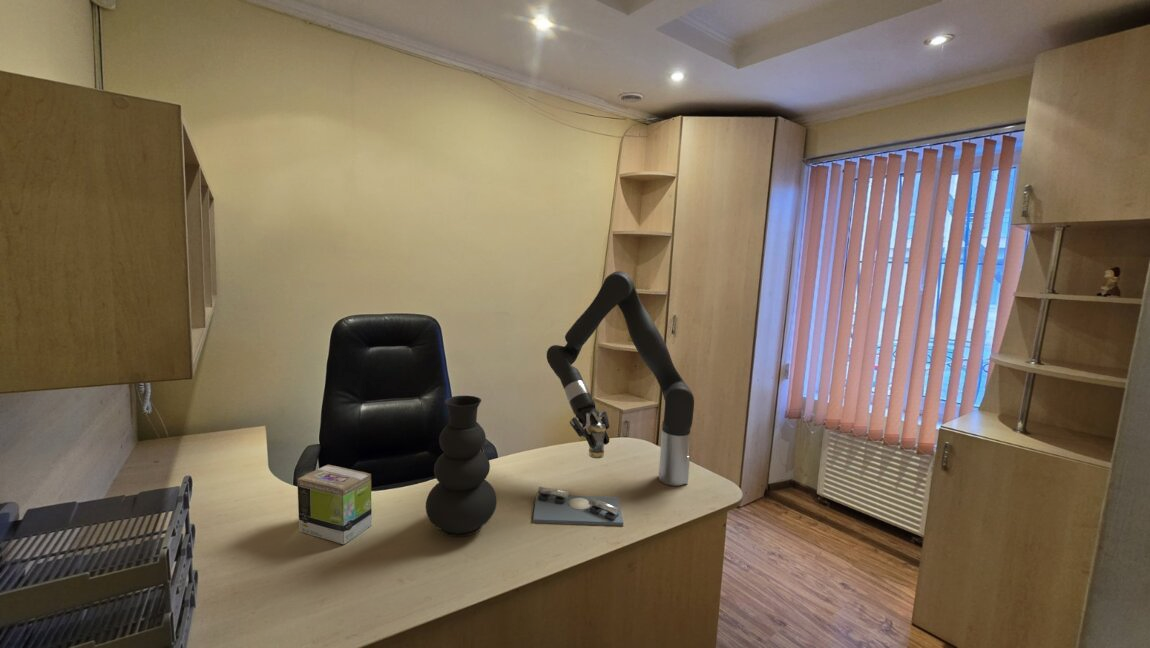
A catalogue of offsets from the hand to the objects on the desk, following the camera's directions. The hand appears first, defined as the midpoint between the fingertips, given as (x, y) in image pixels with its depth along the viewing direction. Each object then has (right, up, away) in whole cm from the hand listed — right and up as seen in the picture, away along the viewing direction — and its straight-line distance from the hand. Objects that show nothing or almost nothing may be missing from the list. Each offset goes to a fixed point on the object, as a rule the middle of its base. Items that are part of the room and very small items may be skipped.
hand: (600, 444), depth 146 cm
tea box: (-70, -16, -23) cm, 76 cm away
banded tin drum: (-1, -4, +2) cm, 5 cm away
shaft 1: (-15, -16, -5) cm, 22 cm away
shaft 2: (0, -17, -12) cm, 21 cm away
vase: (-39, -17, -20) cm, 47 cm away
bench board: (-7, -17, -9) cm, 21 cm away
